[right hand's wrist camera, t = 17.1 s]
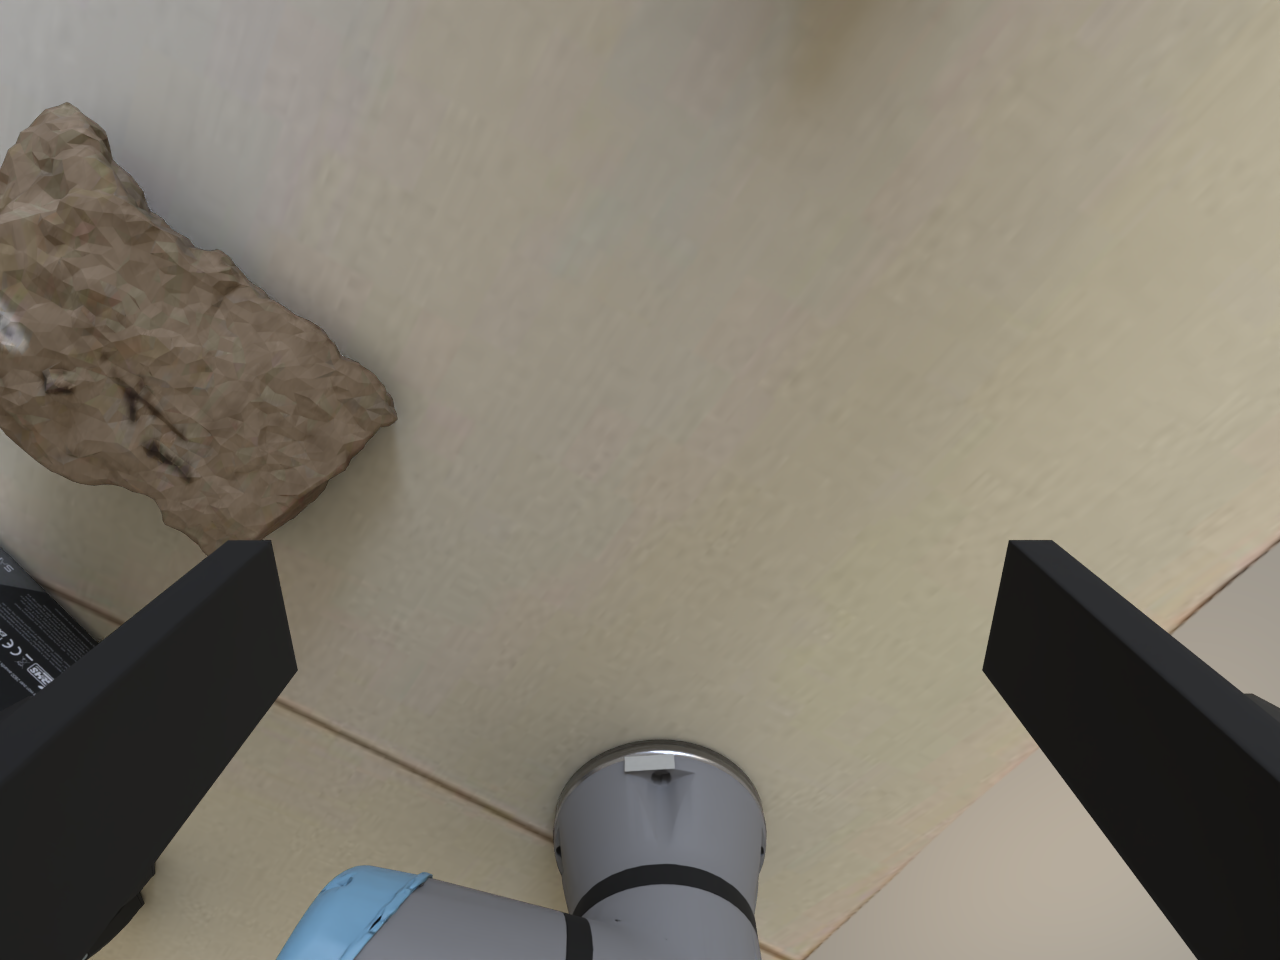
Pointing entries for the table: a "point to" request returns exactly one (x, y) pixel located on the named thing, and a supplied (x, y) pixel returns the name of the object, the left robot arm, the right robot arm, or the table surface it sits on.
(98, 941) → the robot
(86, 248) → the stone
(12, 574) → the graphics card box
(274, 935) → the table surface
